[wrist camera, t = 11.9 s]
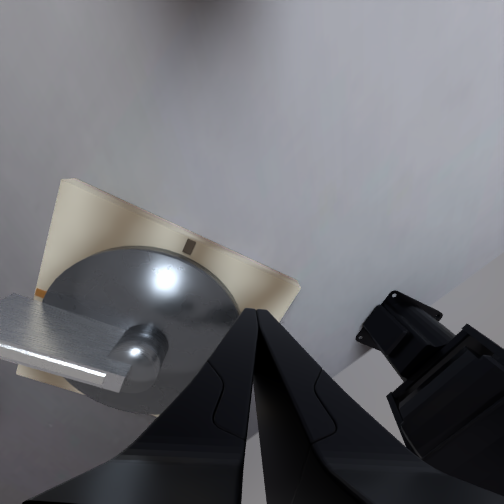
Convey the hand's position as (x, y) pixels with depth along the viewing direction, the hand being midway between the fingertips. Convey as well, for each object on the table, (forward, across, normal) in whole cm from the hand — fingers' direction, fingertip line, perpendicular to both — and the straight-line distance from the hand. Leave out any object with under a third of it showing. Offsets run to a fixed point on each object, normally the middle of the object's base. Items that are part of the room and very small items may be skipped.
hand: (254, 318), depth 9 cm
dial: (+10, +8, +10) cm, 16 cm away
